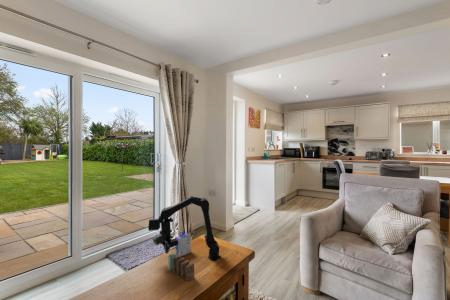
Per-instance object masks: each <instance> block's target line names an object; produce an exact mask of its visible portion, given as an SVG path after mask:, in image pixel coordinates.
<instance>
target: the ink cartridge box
mask: <svg viewBox="0 0 450 300" xmlns="http://www.w3.org/2000/svg"><path fill="white" fill-rule="evenodd" d="M174 239H176V240H178V245H176V246H174V247H175V253H176V256H178V255H179V256H180V257H183V256H185V255H187V254H191V253H192V246H191V234H189V233H187V232H186V233H185V232H184V231H181V232H179V233H178V236H175V237H174Z"/></svg>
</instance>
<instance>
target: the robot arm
mask: <svg viewBox="0 0 450 300" xmlns="http://www.w3.org/2000/svg"><path fill="white" fill-rule="evenodd" d="M190 205H196V206H197V207H200V209H201V212H202V214H203V215H202V216H203V220H204V225H205V230H206V235H204V241H205V245H206V247H207V248H208V256H207V258H208V259H209V260H212V261H217V260H219V259H221V258H222V256H221V255H220V246H219V243H218V241H217V240H216V239H215V237H214V234H213V229H212V224H211V219H210V203H209V200H208V199H207V198H205V197H203V198H202V197H196V196H193V195H190V196H189V197H187V198H185V199H183V200H181V201H179V202H178V203H176V204H174V205H171V206H167V207H164V208H163V209H161V211H160V215H159V216H158V218H152V219H151V218H150V219H149V220H148V227H147V228H148V231H149V232H150V231H151V232H152V231H159V229H160V231H159V233H158V234H156V235H154V237H153V238H152V241H153V243H154V244H153V245H156V246H159V245H160V244H161V245H162V247H163V249H164V252H165V254H168V253H169V252H170V249H172V248H173V247H175V246H176V245H178V240H176V239H175V238H173V236H172V232H173V230H172V229H171V223H172V222H174V219H173V217H172V216H173V215H174V214H175V213H176V212H178V211H181V210H182V209H184V208H186V207H188V206H190ZM172 238H173V239H172Z"/></svg>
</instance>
